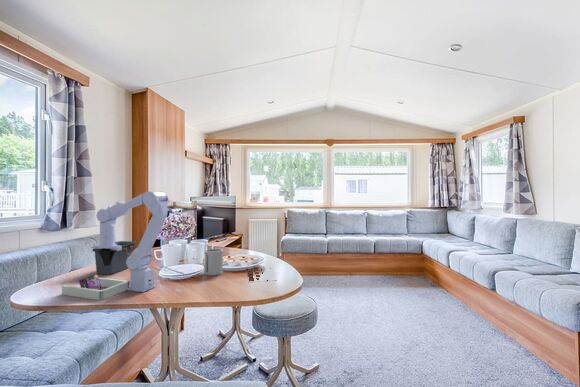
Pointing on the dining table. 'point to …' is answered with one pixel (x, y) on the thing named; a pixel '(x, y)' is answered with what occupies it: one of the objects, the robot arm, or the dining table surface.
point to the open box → (113, 289)
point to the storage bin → (115, 258)
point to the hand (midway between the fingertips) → (107, 265)
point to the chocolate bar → (250, 274)
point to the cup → (213, 261)
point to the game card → (91, 283)
